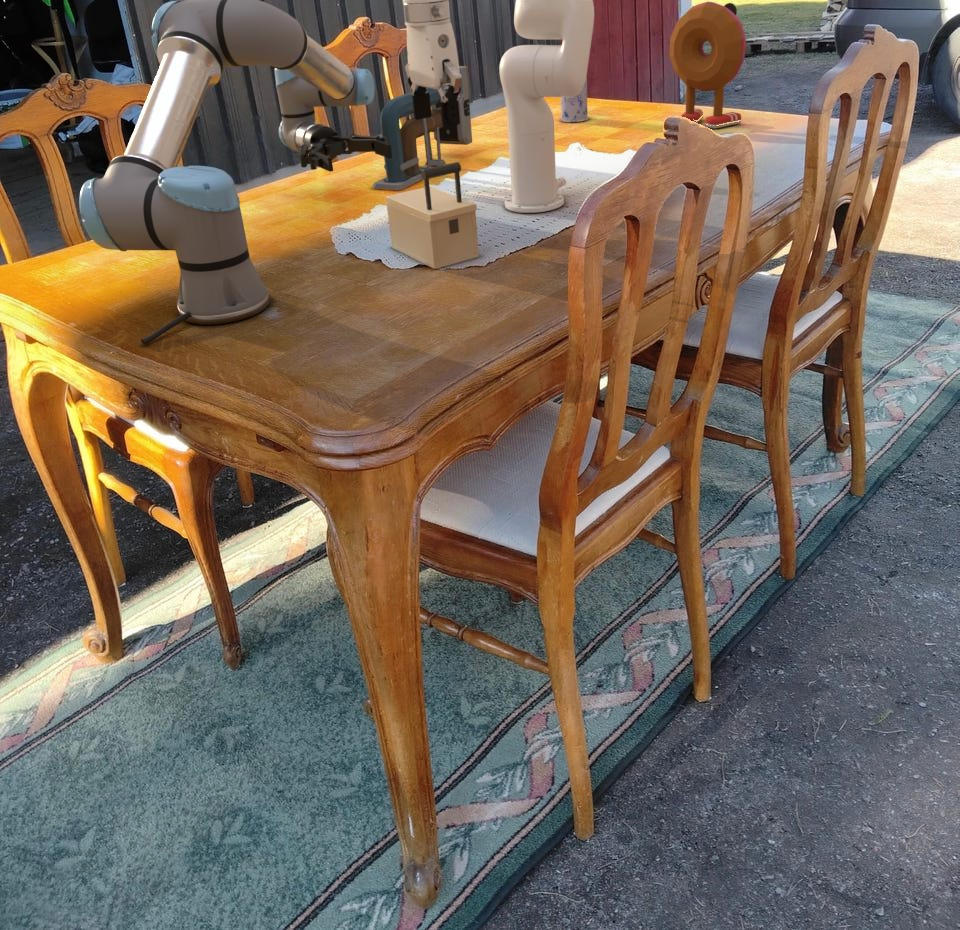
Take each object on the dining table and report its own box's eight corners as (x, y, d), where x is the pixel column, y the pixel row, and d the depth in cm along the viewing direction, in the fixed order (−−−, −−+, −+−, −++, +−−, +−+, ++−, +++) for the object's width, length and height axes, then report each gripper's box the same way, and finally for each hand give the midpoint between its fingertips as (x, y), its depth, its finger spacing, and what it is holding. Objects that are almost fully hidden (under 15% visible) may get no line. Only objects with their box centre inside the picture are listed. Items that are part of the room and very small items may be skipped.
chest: (479, 256, 180) (475, 210, 175) (434, 269, 176) (429, 221, 171) (434, 236, 192) (430, 192, 188) (392, 247, 188) (386, 203, 184)
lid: (476, 210, 175) (473, 163, 171) (431, 221, 171) (426, 174, 167) (430, 192, 188) (425, 148, 184) (386, 202, 184) (380, 158, 180)
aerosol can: (559, 122, 275) (557, 47, 265) (562, 117, 282) (559, 42, 272) (587, 121, 274) (585, 45, 263) (589, 115, 280) (587, 41, 270)
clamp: (400, 190, 224) (389, 93, 213) (369, 188, 228) (356, 93, 217) (473, 154, 250) (466, 66, 239) (444, 152, 254) (436, 66, 243)
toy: (751, 123, 256) (760, -2, 241) (731, 131, 250) (739, 4, 235) (683, 117, 270) (686, -2, 254) (662, 124, 263) (664, 3, 248)
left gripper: (371, 148, 222) (415, 164, 206) (269, 170, 211) (308, 189, 195) (366, 114, 218) (411, 128, 202) (262, 135, 207) (301, 151, 192)
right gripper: (473, 13, 154) (481, 124, 163) (421, 8, 167) (431, 112, 175) (433, 19, 151) (443, 132, 159) (382, 14, 164) (394, 119, 172)
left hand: (360, 158), depth 199 cm, fingers open, 13 cm apart
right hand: (437, 121), depth 167 cm, fingers open, 9 cm apart
